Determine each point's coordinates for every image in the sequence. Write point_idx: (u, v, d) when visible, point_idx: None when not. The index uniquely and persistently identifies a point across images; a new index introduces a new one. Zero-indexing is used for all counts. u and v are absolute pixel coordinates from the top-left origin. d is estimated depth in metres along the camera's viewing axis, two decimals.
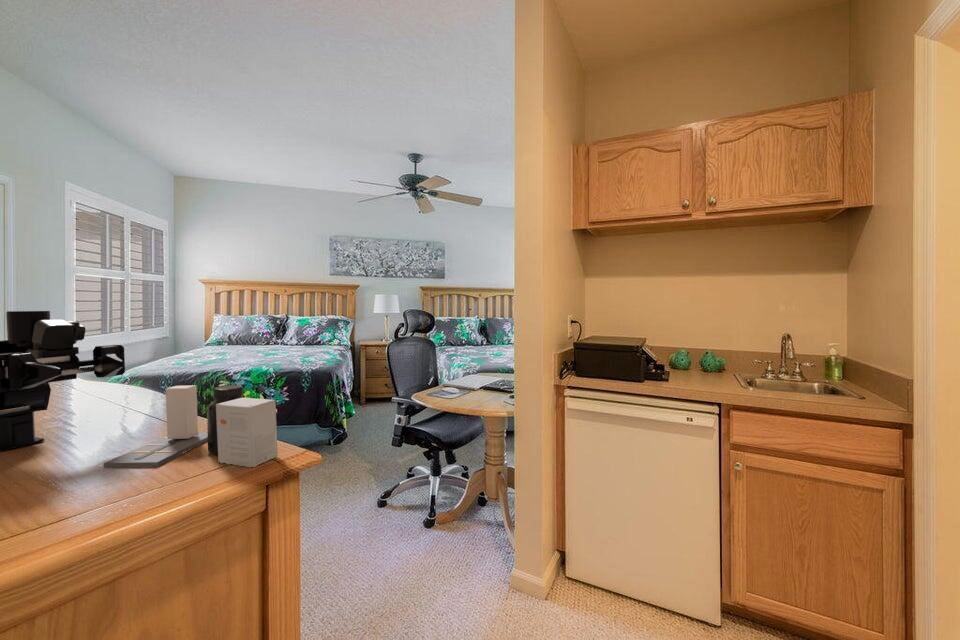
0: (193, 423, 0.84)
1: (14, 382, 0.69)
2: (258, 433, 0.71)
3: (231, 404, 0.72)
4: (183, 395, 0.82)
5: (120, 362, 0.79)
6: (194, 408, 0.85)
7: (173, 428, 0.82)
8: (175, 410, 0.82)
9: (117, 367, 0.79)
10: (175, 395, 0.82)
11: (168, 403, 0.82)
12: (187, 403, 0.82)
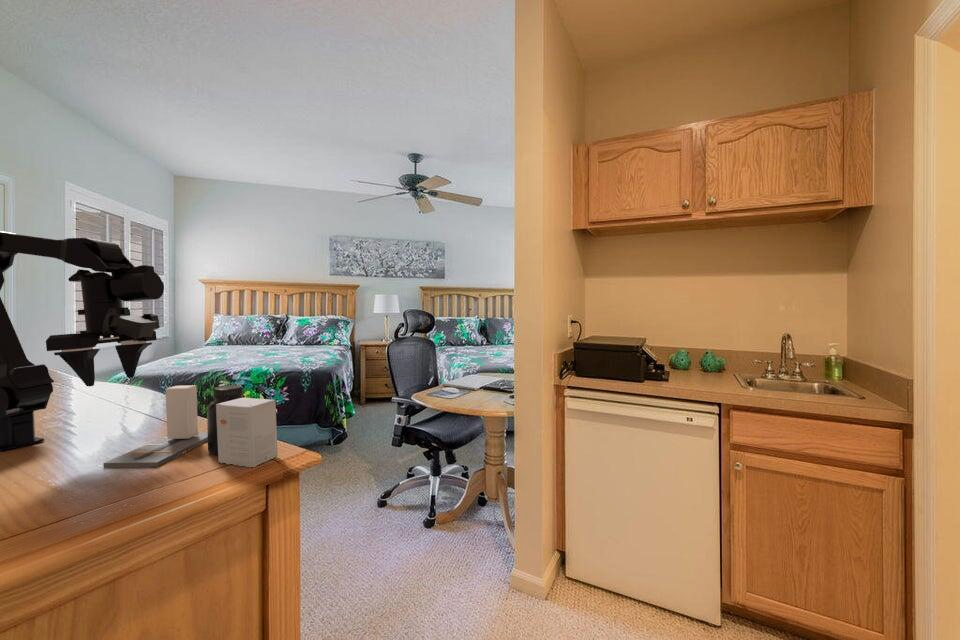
0: (193, 423, 0.84)
1: (62, 354, 0.75)
2: (258, 433, 0.71)
3: (231, 404, 0.72)
4: (183, 395, 0.82)
5: (131, 376, 0.87)
6: (194, 408, 0.85)
7: (173, 428, 0.82)
8: (175, 410, 0.82)
9: (126, 372, 0.87)
10: (175, 395, 0.82)
11: (168, 403, 0.82)
12: (187, 403, 0.82)
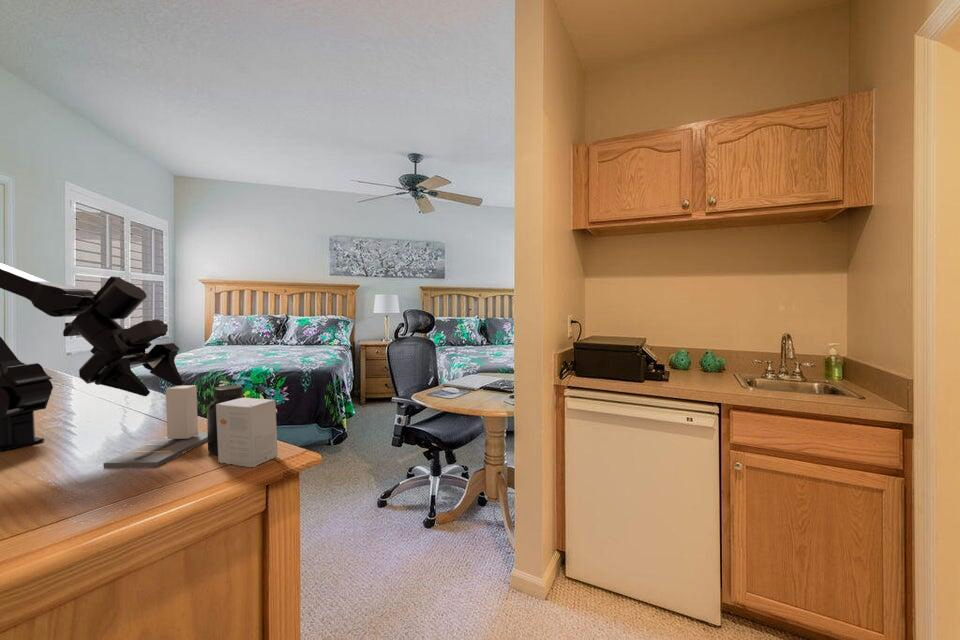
0: (193, 423, 0.84)
1: (102, 380, 0.76)
2: (258, 433, 0.71)
3: (231, 404, 0.72)
4: (183, 395, 0.82)
5: (181, 383, 0.88)
6: (194, 408, 0.85)
7: (173, 428, 0.82)
8: (175, 410, 0.82)
9: (175, 383, 0.88)
10: (175, 395, 0.82)
11: (168, 403, 0.82)
12: (187, 403, 0.82)
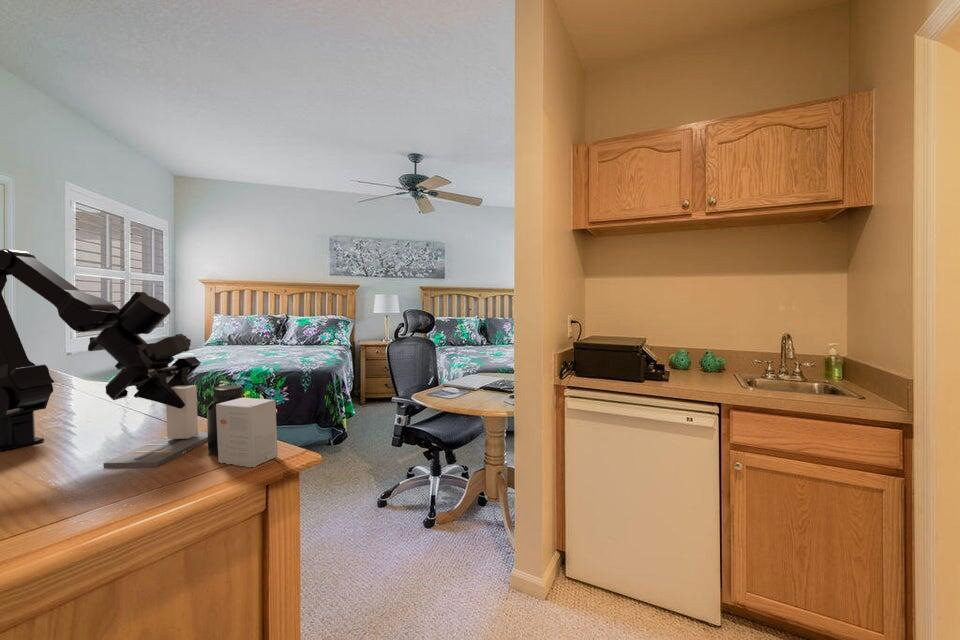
0: (193, 423, 0.84)
1: (141, 393, 0.79)
2: (258, 433, 0.71)
3: (231, 404, 0.72)
4: (183, 395, 0.82)
5: None
6: (194, 408, 0.85)
7: (173, 428, 0.82)
8: (175, 410, 0.82)
9: None
10: None
11: None
12: (187, 403, 0.82)
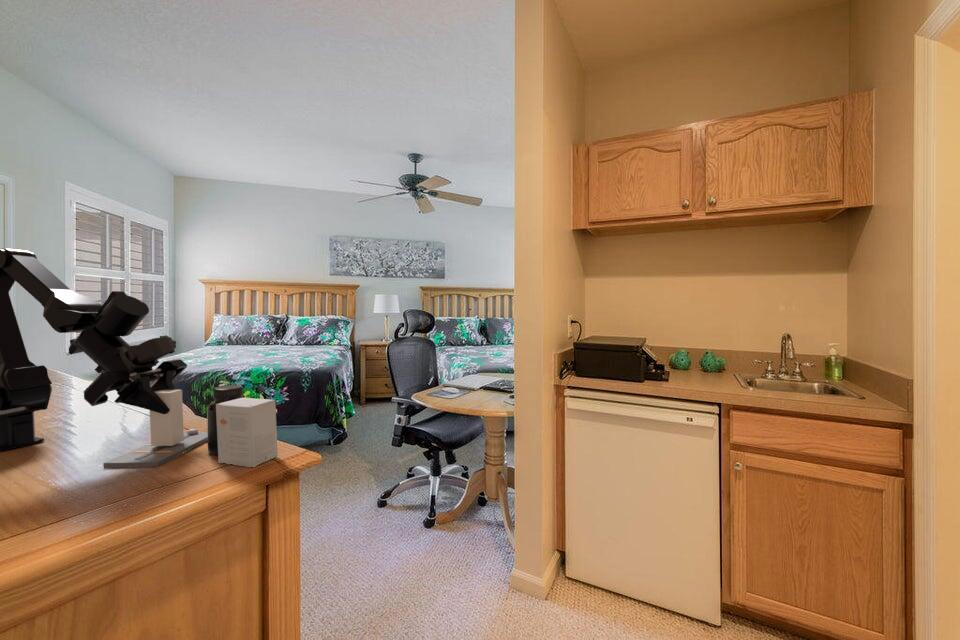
0: (179, 429, 0.80)
1: (122, 398, 0.75)
2: (258, 433, 0.71)
3: (231, 404, 0.72)
4: (168, 400, 0.78)
5: None
6: (180, 414, 0.80)
7: (157, 435, 0.78)
8: (159, 416, 0.78)
9: None
10: None
11: None
12: (172, 408, 0.78)
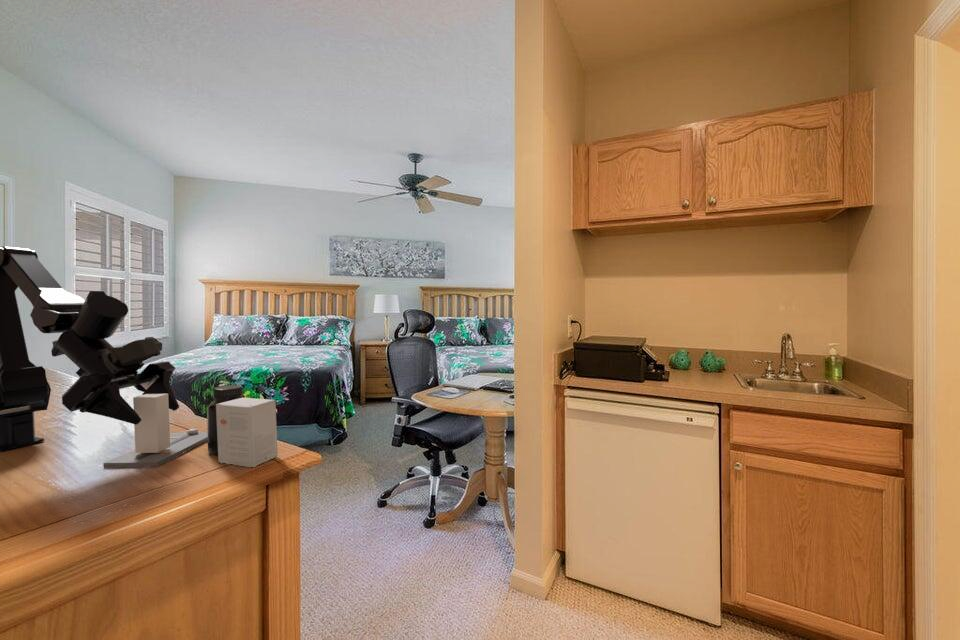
0: (165, 435, 0.76)
1: (88, 407, 0.68)
2: (258, 433, 0.71)
3: (231, 404, 0.72)
4: (153, 404, 0.74)
5: (176, 406, 0.80)
6: (166, 419, 0.77)
7: (141, 441, 0.74)
8: (143, 421, 0.74)
9: (169, 407, 0.80)
10: (144, 404, 0.74)
11: None
12: (157, 413, 0.75)
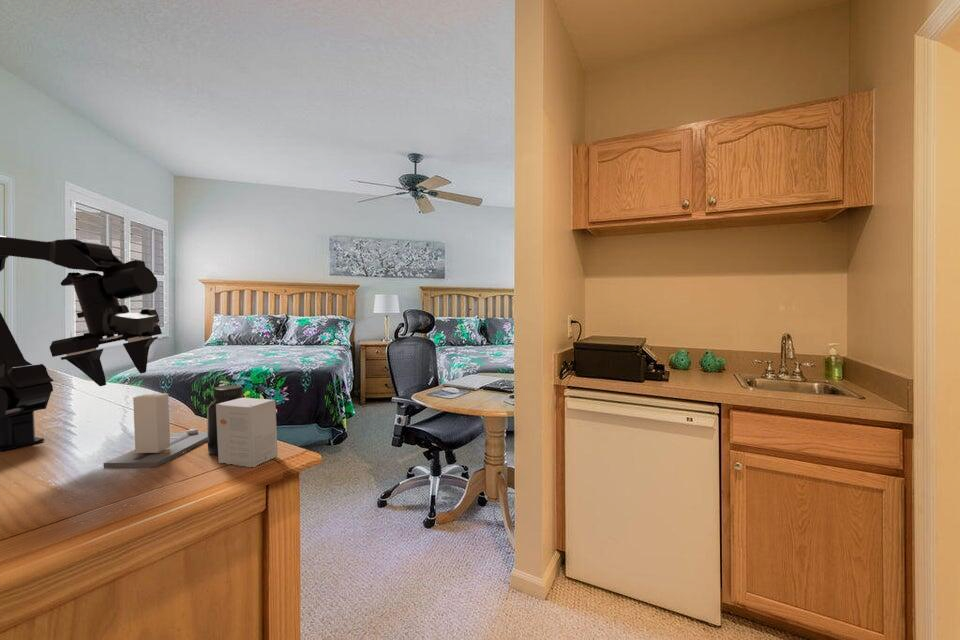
0: (165, 435, 0.76)
1: (69, 358, 0.76)
2: (258, 433, 0.71)
3: (231, 404, 0.72)
4: (153, 404, 0.74)
5: (143, 371, 0.89)
6: (166, 419, 0.77)
7: (141, 441, 0.74)
8: (143, 421, 0.74)
9: (138, 368, 0.89)
10: (144, 404, 0.74)
11: (136, 413, 0.74)
12: (157, 413, 0.75)
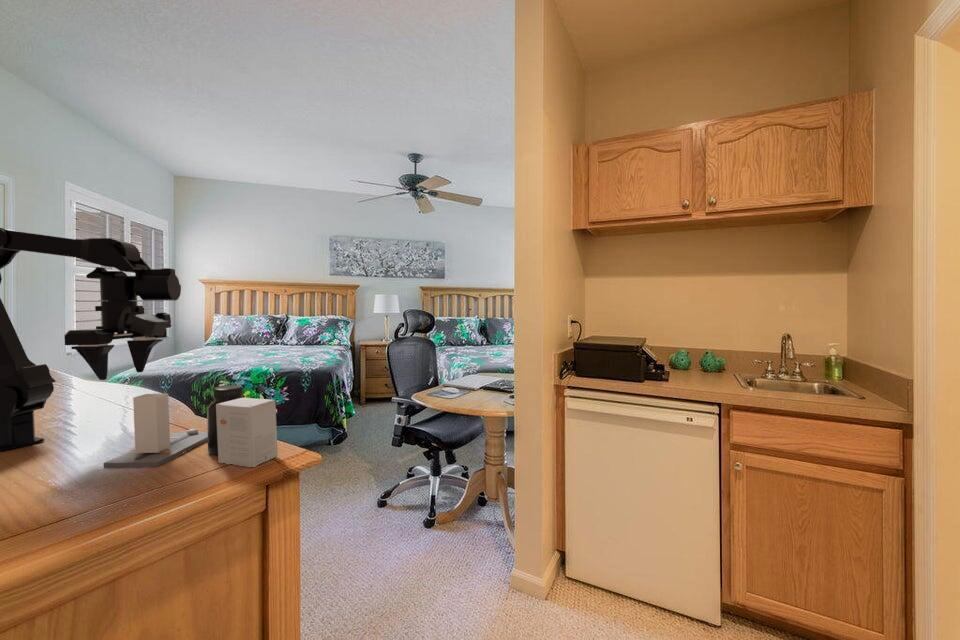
0: (165, 435, 0.76)
1: (79, 349, 0.79)
2: (258, 433, 0.71)
3: (231, 404, 0.72)
4: (153, 404, 0.74)
5: (140, 371, 0.91)
6: (166, 419, 0.77)
7: (141, 441, 0.74)
8: (143, 421, 0.74)
9: (136, 367, 0.91)
10: (144, 404, 0.74)
11: (136, 413, 0.74)
12: (157, 413, 0.75)
